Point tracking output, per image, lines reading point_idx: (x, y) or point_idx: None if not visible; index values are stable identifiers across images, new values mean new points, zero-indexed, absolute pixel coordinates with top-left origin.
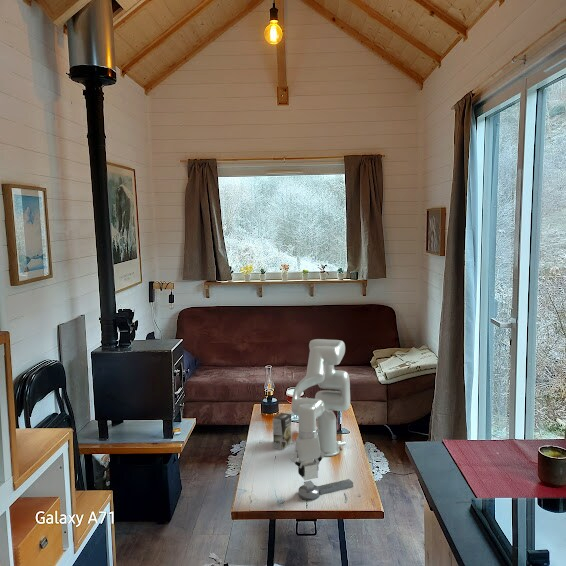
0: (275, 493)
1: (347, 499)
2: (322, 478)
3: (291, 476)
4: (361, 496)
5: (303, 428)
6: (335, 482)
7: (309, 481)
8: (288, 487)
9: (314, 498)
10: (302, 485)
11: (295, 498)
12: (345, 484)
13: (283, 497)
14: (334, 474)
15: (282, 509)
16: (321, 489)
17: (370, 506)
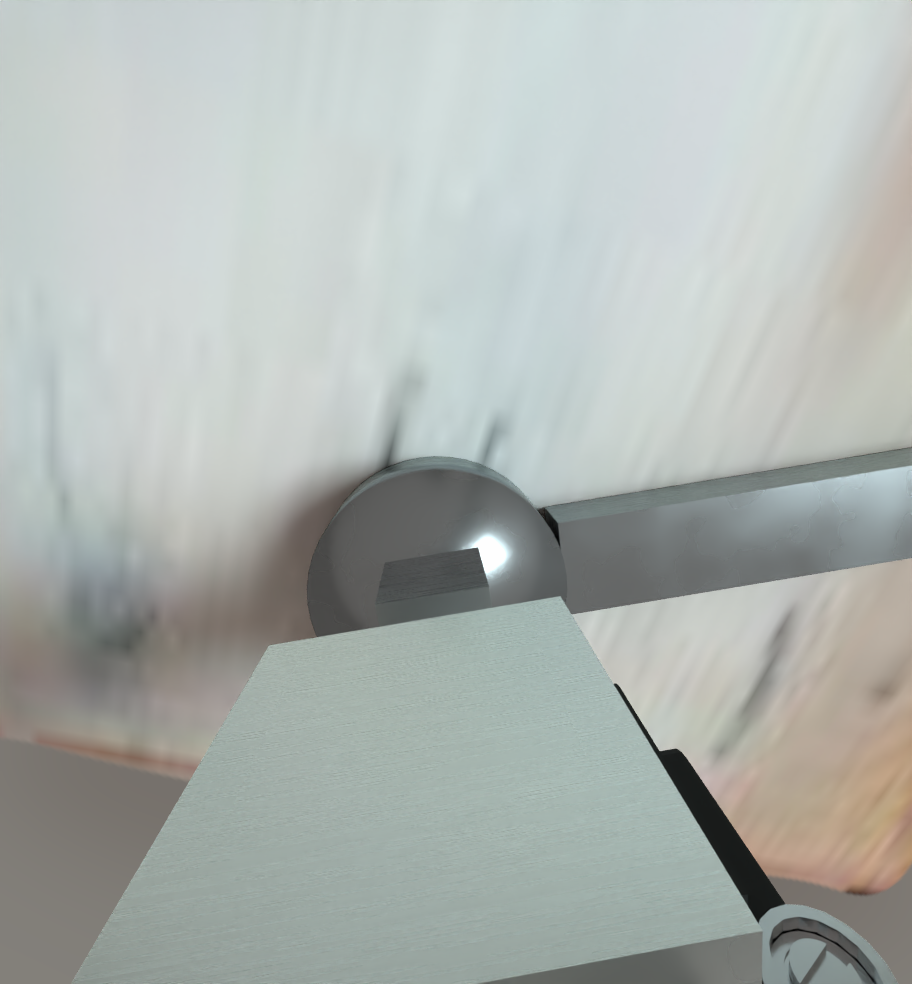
0: (52, 439)
1: (758, 719)
2: (718, 230)
3: (318, 11)
4: (897, 701)
5: None
6: (809, 490)
7: (462, 610)
8: (231, 338)
9: None
10: (381, 484)
11: (279, 596)
12: (888, 560)
13: (146, 547)
14: (909, 166)
15: (121, 746)
16: (586, 600)
17: (872, 842)
